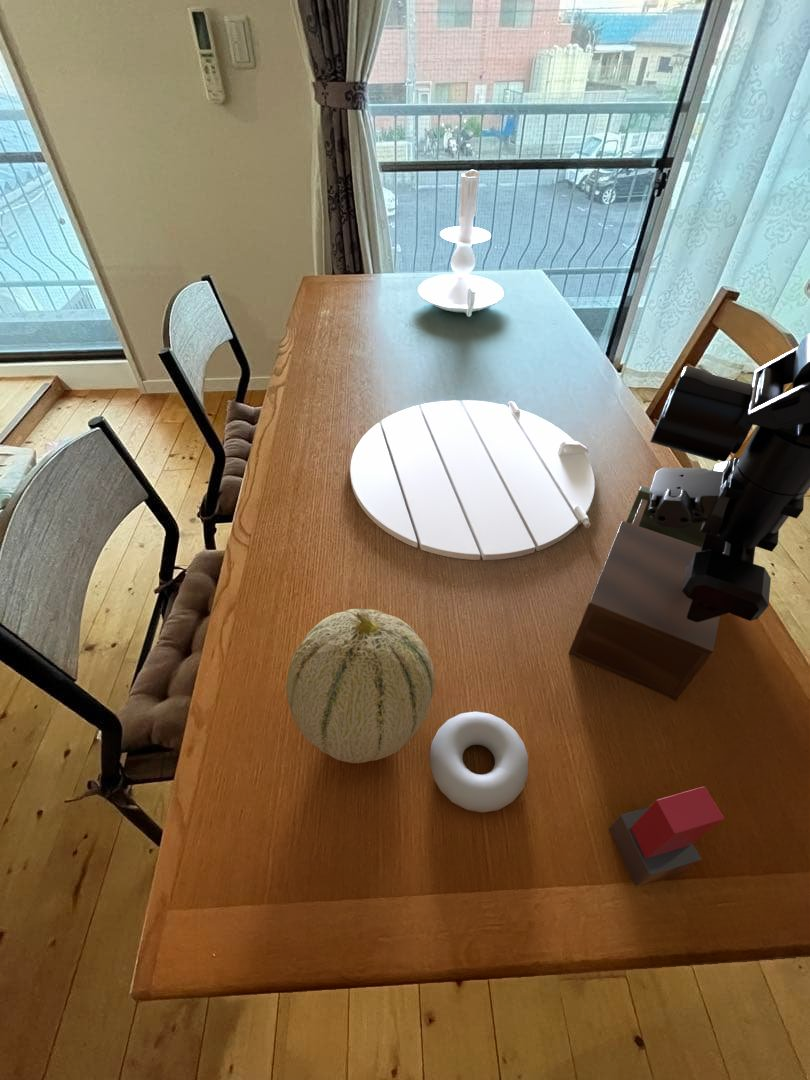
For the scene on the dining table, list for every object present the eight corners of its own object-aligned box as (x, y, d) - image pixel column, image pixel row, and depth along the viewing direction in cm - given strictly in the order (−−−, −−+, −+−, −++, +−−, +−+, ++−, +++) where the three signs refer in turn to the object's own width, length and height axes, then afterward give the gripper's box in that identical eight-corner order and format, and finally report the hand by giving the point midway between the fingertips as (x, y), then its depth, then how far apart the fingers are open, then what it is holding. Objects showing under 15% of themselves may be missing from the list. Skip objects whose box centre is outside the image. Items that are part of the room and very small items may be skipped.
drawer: (629, 511, 83) (647, 468, 77) (710, 538, 79) (735, 494, 73) (598, 592, 72) (616, 549, 66) (689, 628, 68) (717, 585, 62)
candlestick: (425, 332, 125) (431, 189, 105) (413, 288, 142) (415, 158, 122) (515, 329, 126) (537, 188, 106) (492, 285, 143) (507, 157, 123)
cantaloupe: (304, 800, 55) (281, 733, 44) (290, 672, 65) (269, 591, 54) (448, 765, 57) (460, 694, 46) (413, 647, 67) (416, 565, 56)
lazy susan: (542, 395, 107) (545, 378, 104) (644, 537, 80) (652, 519, 78) (336, 418, 101) (334, 401, 98) (373, 579, 74) (372, 562, 72)
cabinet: (600, 573, 76) (622, 520, 68) (697, 609, 71) (731, 557, 64) (568, 653, 67) (589, 602, 59) (676, 700, 62) (713, 651, 55)
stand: (654, 815, 54) (669, 800, 51) (684, 871, 51) (702, 859, 48) (608, 828, 53) (620, 814, 50) (635, 886, 50) (650, 875, 47)
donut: (443, 709, 62) (416, 797, 55) (445, 693, 59) (417, 783, 52) (532, 737, 60) (516, 832, 53) (538, 722, 57) (522, 819, 50)
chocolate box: (674, 814, 50) (704, 785, 45) (691, 845, 49) (725, 818, 44) (629, 827, 49) (656, 799, 44) (645, 859, 48) (674, 834, 43)
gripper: (690, 395, 55) (639, 509, 67) (655, 506, 44) (600, 621, 55) (814, 427, 52) (737, 542, 63) (812, 558, 40) (718, 669, 52)
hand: (698, 587), depth 58 cm, fingers open, 9 cm apart
